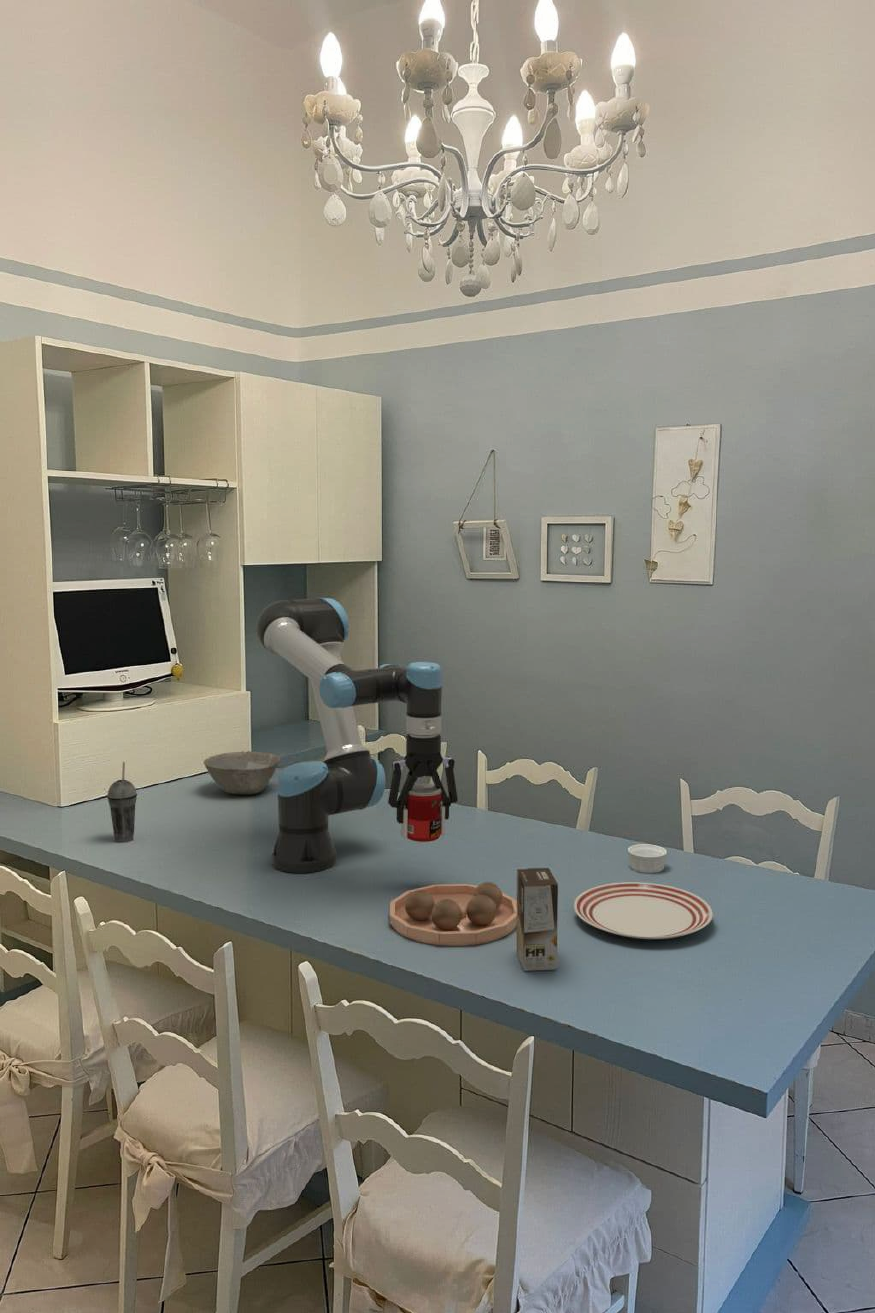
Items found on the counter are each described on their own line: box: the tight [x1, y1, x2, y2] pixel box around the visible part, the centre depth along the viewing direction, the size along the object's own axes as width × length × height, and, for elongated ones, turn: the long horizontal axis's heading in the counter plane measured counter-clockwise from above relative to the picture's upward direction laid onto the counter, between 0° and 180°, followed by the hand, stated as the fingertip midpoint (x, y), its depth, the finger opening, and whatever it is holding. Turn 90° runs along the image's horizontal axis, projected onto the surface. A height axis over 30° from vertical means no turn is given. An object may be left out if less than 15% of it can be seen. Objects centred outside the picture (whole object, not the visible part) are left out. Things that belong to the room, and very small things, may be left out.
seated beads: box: [405, 881, 503, 931], centre depth 201 cm, size 18×18×6 cm
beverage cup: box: [106, 761, 138, 843], centre depth 253 cm, size 7×7×20 cm
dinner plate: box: [573, 881, 714, 940], centre depth 201 cm, size 27×27×3 cm
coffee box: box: [516, 867, 559, 972], centre depth 182 cm, size 9×6×16 cm
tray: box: [389, 883, 517, 947], centre depth 202 cm, size 26×26×2 cm
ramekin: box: [627, 843, 668, 874], centre depth 232 cm, size 9×9×4 cm
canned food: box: [405, 783, 442, 843], centre depth 218 cm, size 8×8×11 cm
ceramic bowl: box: [203, 750, 281, 796], centre depth 298 cm, size 22×23×10 cm
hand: (422, 835), depth 219 cm, fingers closed on canned food, 8 cm apart
